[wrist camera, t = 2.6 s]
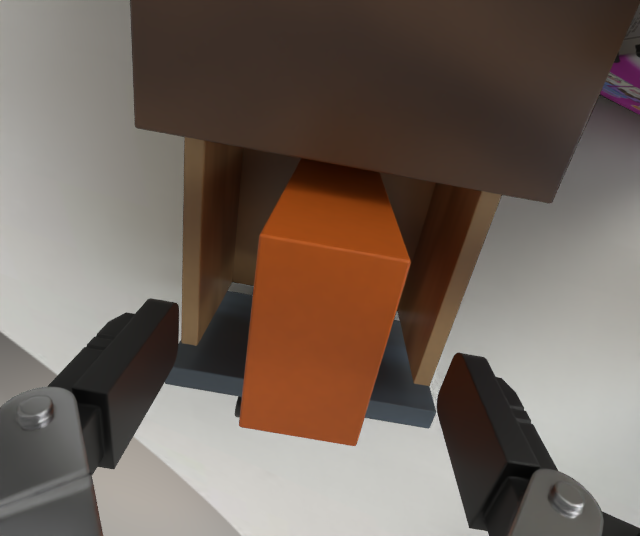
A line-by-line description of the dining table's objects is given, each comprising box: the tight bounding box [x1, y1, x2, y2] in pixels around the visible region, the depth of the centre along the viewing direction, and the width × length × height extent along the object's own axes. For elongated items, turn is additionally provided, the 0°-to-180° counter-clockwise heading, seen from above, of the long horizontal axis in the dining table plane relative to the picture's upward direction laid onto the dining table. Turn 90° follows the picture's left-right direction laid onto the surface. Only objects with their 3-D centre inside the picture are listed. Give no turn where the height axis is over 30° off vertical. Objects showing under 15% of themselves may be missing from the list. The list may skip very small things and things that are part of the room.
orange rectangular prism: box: [239, 158, 411, 446], centre depth 17 cm, size 7×4×12 cm, turn 170°
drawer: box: [165, 137, 502, 428], centre depth 21 cm, size 19×13×8 cm
